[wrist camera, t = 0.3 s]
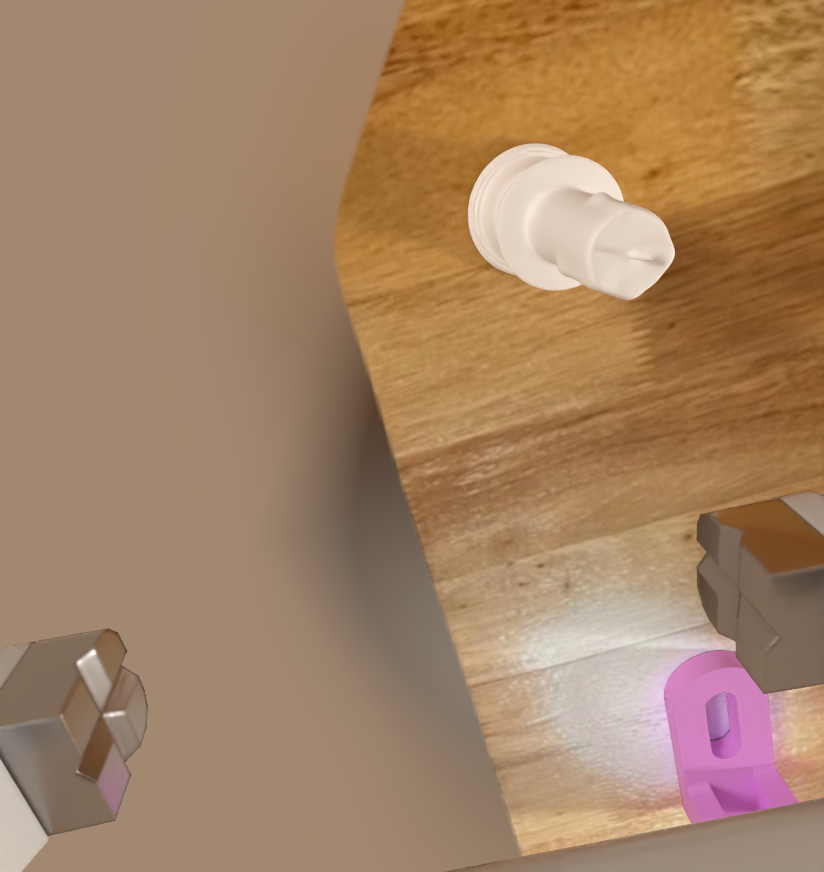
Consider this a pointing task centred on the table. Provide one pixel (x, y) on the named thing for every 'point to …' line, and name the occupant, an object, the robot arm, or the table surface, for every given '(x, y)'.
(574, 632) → the table surface
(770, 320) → the table surface
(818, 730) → the table surface
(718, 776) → the bracket
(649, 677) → the table surface
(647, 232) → the white turned post
